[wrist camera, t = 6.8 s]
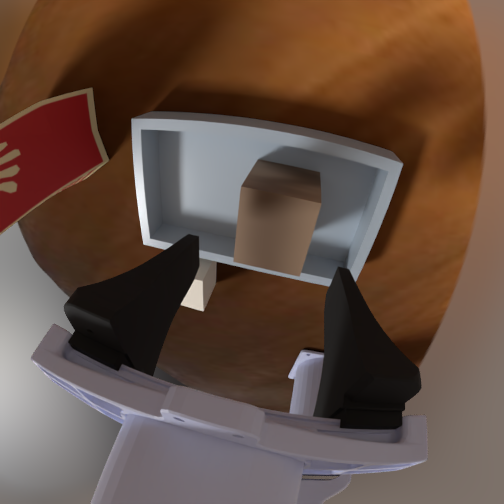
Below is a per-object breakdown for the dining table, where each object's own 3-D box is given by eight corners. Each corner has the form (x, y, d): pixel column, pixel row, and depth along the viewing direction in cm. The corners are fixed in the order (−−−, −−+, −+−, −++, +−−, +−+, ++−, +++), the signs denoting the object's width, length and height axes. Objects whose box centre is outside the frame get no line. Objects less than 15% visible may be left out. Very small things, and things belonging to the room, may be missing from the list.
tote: (392, 151, 16) (403, 163, 14) (349, 268, 23) (351, 290, 21) (151, 111, 18) (131, 118, 16) (157, 227, 25) (143, 244, 22)
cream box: (217, 252, 25) (202, 281, 22) (216, 282, 28) (203, 311, 25) (177, 243, 26) (159, 270, 22) (180, 273, 28) (164, 300, 25)
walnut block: (320, 172, 18) (321, 203, 14) (304, 235, 22) (299, 276, 18) (257, 159, 19) (240, 186, 15) (249, 223, 22) (233, 261, 18)
